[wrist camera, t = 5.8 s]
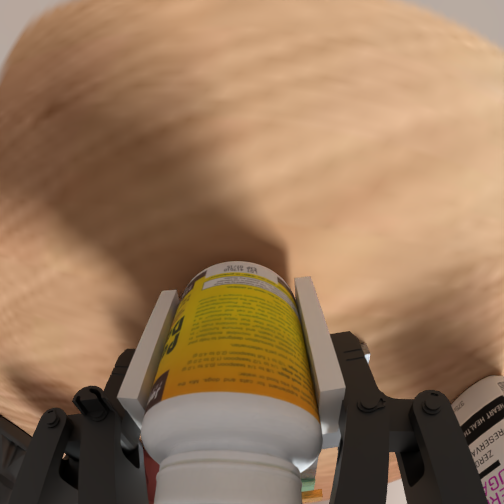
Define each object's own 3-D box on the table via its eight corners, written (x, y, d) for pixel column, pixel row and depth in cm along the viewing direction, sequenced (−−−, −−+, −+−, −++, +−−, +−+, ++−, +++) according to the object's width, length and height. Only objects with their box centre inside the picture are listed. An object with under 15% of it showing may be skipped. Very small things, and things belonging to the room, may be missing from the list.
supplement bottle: (182, 249, 13) (94, 468, 4) (305, 262, 14) (373, 486, 4) (182, 341, 16) (143, 522, 6) (283, 351, 16) (303, 533, 7)
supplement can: (484, 408, 23) (527, 500, 9) (430, 430, 23) (467, 539, 10) (513, 361, 19) (574, 464, 6) (456, 385, 20) (515, 516, 6)
